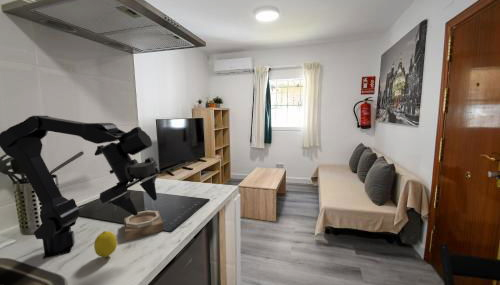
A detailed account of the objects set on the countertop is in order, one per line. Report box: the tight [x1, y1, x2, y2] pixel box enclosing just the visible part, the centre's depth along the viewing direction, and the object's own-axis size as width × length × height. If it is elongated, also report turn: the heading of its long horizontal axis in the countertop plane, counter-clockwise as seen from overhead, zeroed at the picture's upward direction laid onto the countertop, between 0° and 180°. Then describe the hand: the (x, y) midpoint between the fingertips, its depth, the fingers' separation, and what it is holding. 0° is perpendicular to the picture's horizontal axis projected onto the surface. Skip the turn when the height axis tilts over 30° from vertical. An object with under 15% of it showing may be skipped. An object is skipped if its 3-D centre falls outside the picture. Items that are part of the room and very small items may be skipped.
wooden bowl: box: [123, 210, 164, 241], centre depth 81 cm, size 12×12×4 cm
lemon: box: [93, 230, 118, 258], centre depth 64 cm, size 6×6×8 cm
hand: (146, 206), depth 66 cm, fingers open, 9 cm apart
